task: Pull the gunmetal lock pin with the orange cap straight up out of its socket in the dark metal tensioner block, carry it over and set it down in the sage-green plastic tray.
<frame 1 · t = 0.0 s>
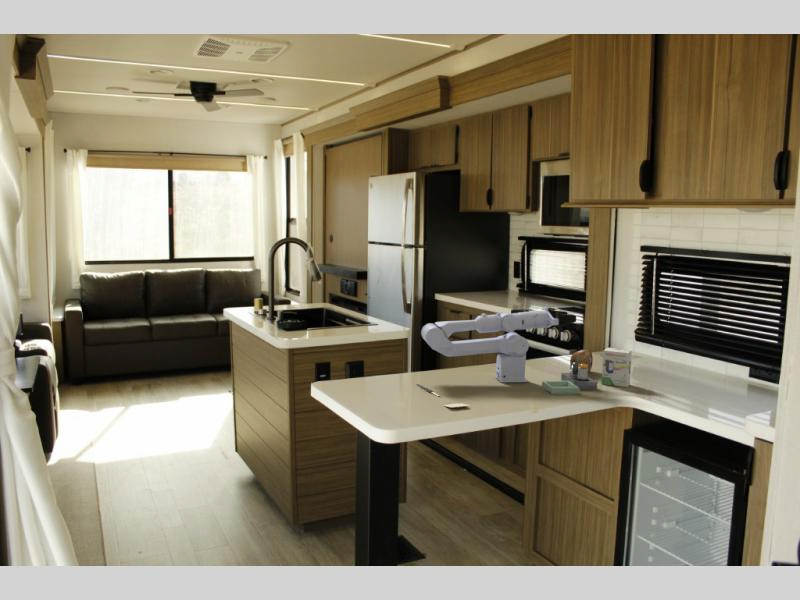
hand: (571, 316, 230), 22 cm above the counter, tool horizontal, fingers open, 7 cm apart
ink box: (615, 385, 228), on the counter
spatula: (437, 398, 208), on the counter
lock pin: (582, 387, 224), resting in tensioner
tin: (580, 374, 242), on the counter
tray: (560, 390, 218), on the counter
tensioner: (582, 387, 224), on the counter
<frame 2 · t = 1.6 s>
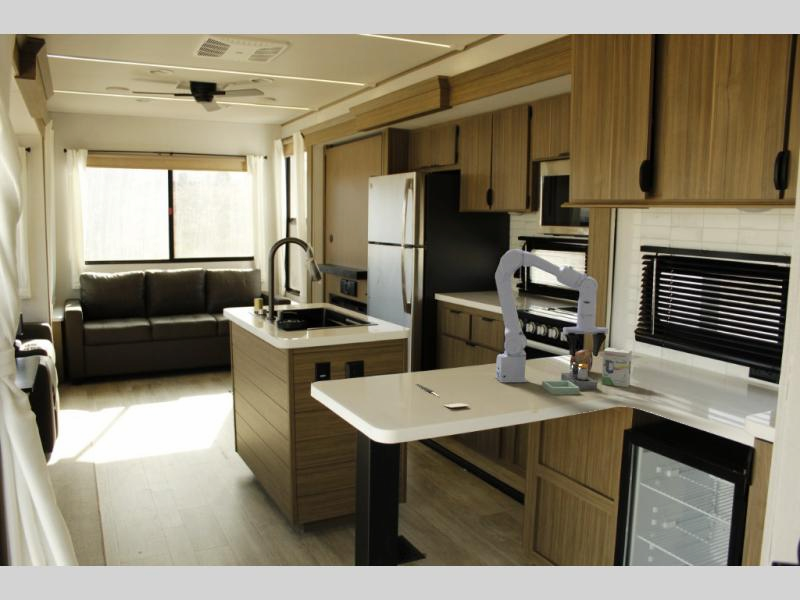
hand: (584, 355, 222), 10 cm above the counter, tool pointing down, fingers open, 7 cm apart
nothing on the counter moved.
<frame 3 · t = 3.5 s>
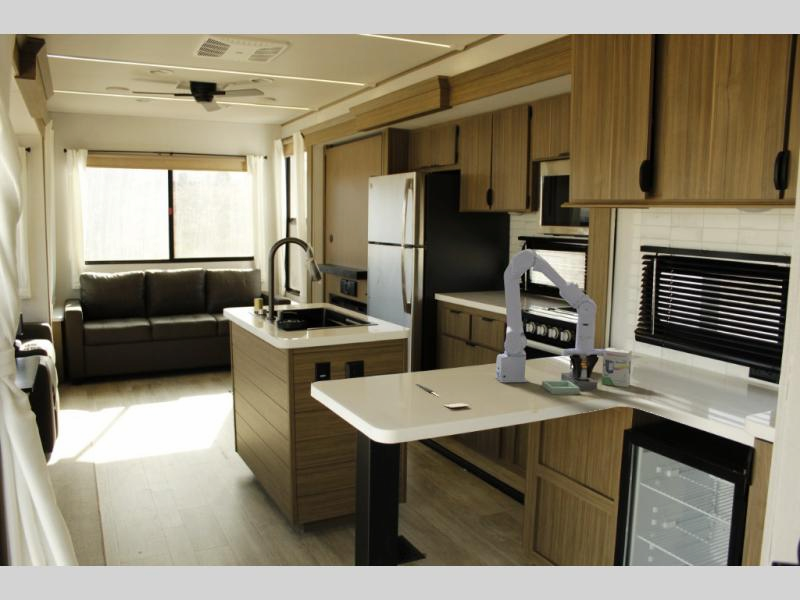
hand: (582, 377, 223), 3 cm above the counter, tool pointing down, fingers closed on lock pin, 3 cm apart
lock pin: (582, 387, 224), resting in tensioner, touching gripper
everything else where it was.
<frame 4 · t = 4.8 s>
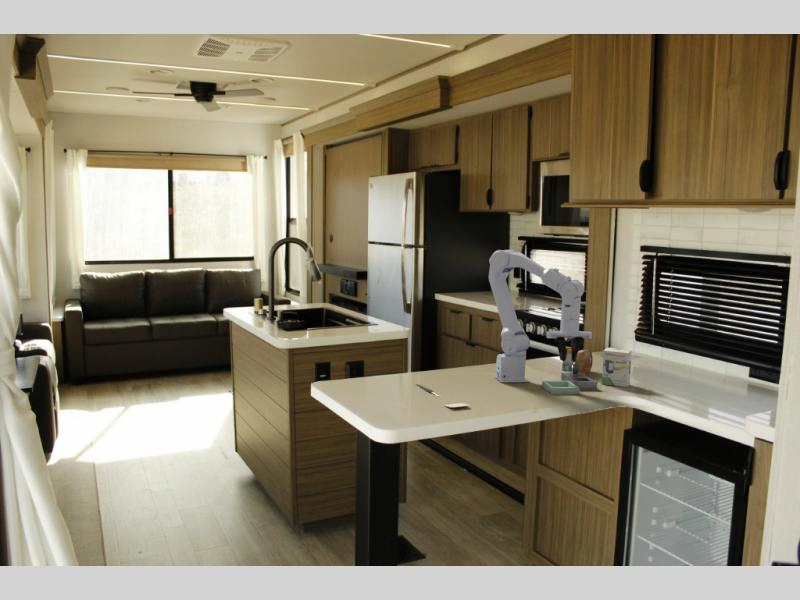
hand: (567, 360, 219), 10 cm above the counter, tool pointing down, fingers closed on lock pin, 3 cm apart
lock pin: (566, 370, 219), point 6 cm above the counter, touching gripper
everything else where it was.
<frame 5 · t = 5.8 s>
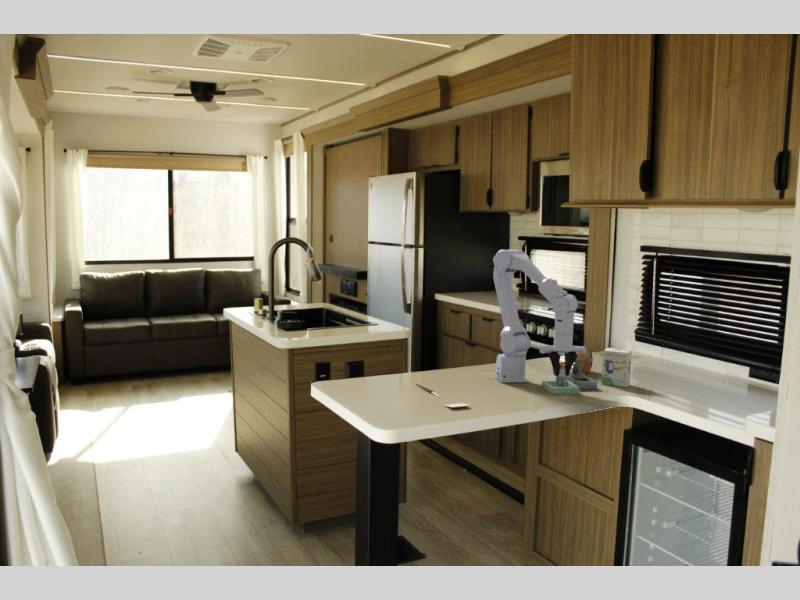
hand: (561, 375, 218), 5 cm above the counter, tool pointing down, fingers closed on lock pin, 3 cm apart
lock pin: (560, 385, 218), point 2 cm above the counter, touching gripper
everything else where it was.
when the fingers open (5 cm above the counter, at t = 6.5 s): lock pin stays where it is, resting on tray.
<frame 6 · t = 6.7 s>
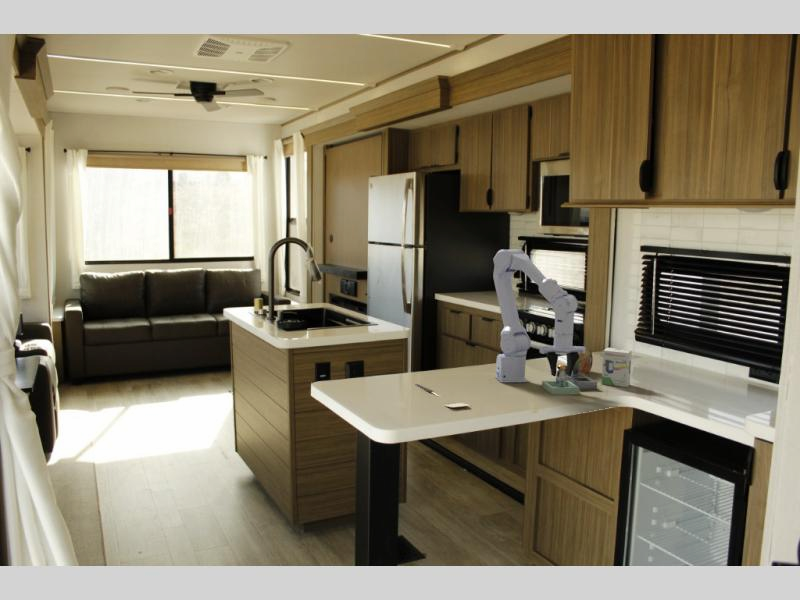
hand: (561, 375, 218), 5 cm above the counter, tool pointing down, fingers open, 4 cm apart
lock pin: (560, 388, 218), point 1 cm above the counter, touching tray
everything else where it was.
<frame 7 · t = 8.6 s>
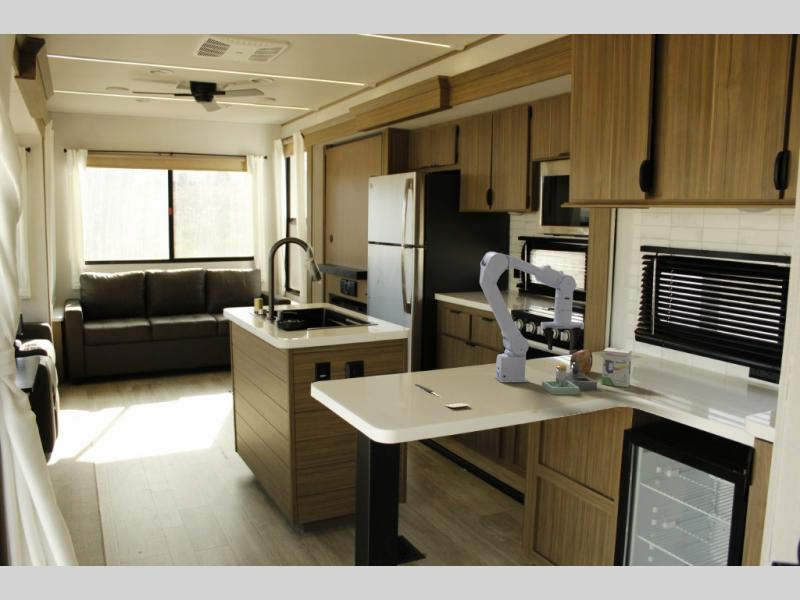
hand: (560, 349, 231), 10 cm above the counter, tool pointing down, fingers open, 7 cm apart
nothing on the counter moved.
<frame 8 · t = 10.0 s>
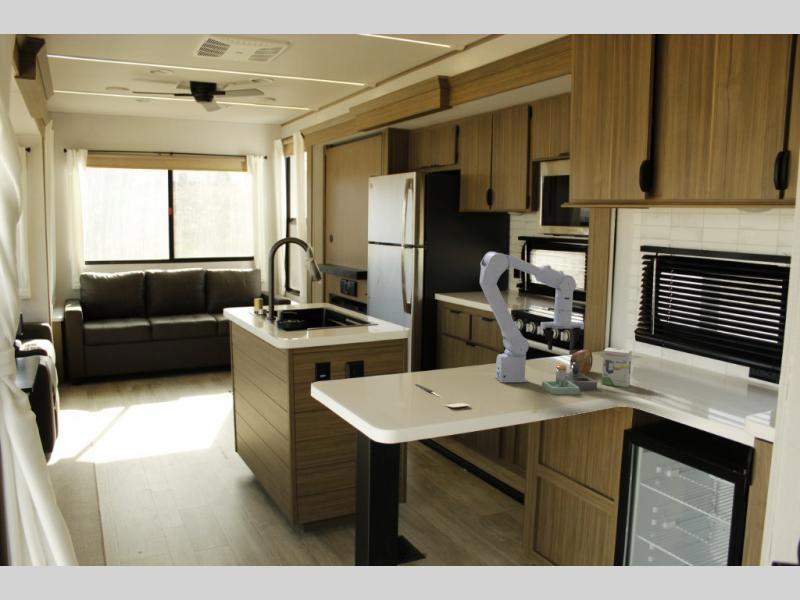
hand: (560, 349, 231), 10 cm above the counter, tool pointing down, fingers open, 7 cm apart
nothing on the counter moved.
at the end: lock pin inside the target area on the tray (0.1 cm from its centre), point 0.5 cm above the tray's base; lock pin touching tray; the gripper is holding nothing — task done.
